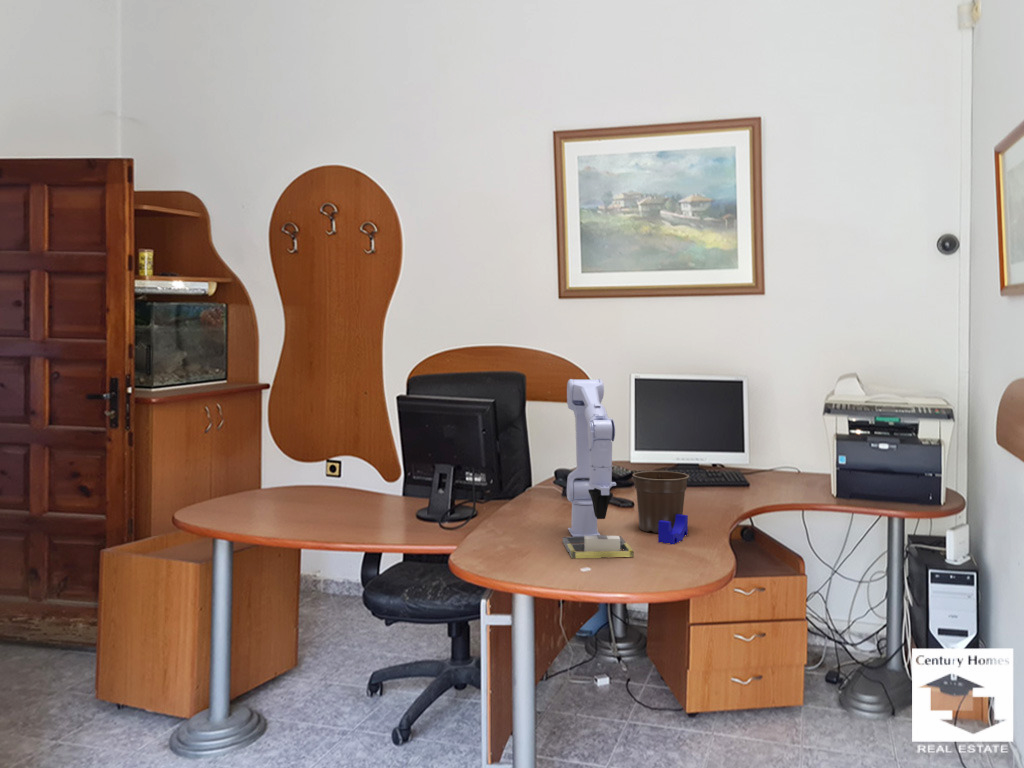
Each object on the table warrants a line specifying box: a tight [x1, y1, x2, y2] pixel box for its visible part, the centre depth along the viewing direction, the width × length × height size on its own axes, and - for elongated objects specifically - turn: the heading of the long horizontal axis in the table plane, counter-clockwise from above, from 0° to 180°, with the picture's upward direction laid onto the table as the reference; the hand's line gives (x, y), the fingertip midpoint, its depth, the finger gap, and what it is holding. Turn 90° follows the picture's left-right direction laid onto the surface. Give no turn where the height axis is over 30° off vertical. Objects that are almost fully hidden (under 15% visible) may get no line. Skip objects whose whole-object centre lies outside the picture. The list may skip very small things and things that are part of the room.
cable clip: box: [657, 514, 689, 545], centre depth 246 cm, size 12×4×6 cm, turn 143°
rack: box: [562, 535, 635, 559], centre depth 234 cm, size 17×16×2 cm
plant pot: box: [632, 470, 690, 534], centre depth 258 cm, size 16×16×16 cm
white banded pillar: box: [583, 534, 621, 552], centre depth 230 cm, size 4×9×5 cm, turn 90°
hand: (600, 517), depth 229 cm, fingers closed
